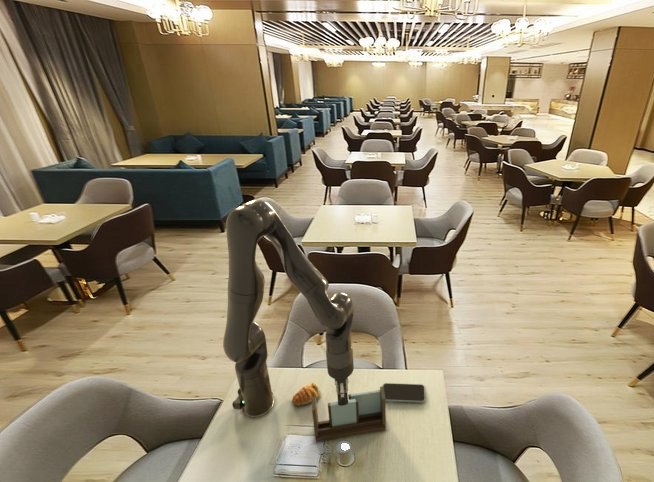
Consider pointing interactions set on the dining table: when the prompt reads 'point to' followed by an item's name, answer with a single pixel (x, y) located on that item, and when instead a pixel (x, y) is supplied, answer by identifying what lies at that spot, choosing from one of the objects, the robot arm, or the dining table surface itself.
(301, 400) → the pastry
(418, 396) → the smartphone
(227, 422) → the dining table surface
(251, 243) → the robot arm
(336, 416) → the sash
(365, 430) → the window frame
